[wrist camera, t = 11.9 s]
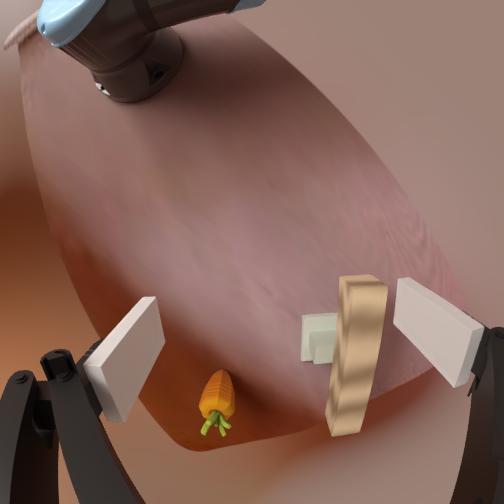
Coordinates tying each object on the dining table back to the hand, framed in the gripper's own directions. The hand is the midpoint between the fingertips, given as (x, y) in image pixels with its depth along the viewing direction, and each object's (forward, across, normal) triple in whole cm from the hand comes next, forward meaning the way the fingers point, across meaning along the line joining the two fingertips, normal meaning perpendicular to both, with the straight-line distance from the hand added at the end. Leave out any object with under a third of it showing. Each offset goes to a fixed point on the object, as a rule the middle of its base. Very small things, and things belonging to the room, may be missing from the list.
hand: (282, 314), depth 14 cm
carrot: (+27, -8, -22) cm, 36 cm away
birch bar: (+20, +11, -17) cm, 29 cm away
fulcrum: (+26, +11, -17) cm, 34 cm away
